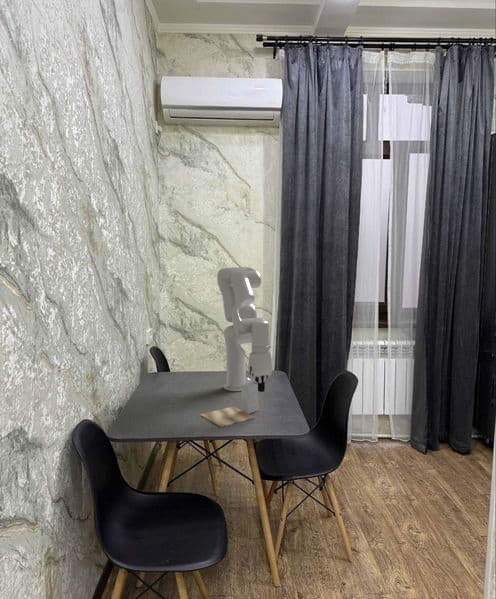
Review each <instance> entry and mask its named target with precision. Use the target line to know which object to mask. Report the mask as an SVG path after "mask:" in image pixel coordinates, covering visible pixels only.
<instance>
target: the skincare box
mask: <svg viewBox="0 0 496 599" xmlns="http://www.w3.org/2000/svg"><path fill="white" fill-rule="evenodd" d="M240 392H241V411H243V412H245V413H247V414H249V415H251V413H252V414H253V413H255V412H258V411H259V391H258V383H257V382H256V381H255V382H254V381H253V382H248V383H245V384H241V391H240Z"/></svg>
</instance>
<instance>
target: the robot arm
mask: <svg viewBox="0 0 496 599" xmlns="http://www.w3.org/2000/svg"><path fill="white" fill-rule="evenodd" d="M216 278H217V279H216V280H217V285H218V288H219V290H220V292H221V293H220V294H221V297H222V304H223V312H224V317H225V320H226V322H227V323H232V325H228V326H226V328H224V331H223V337H224V342H225V350H226V351H225V353H226V354H225V355H226V383H225V384H223V388H224V390H226V391H230V392H242V391H241V384H245V383H248V382H254V381H255V383H258V393H259V392H260V393H263V392H265V390H266V389H265V388H266V386H265V385H266V382H267V379H268V378H269V377H271V376H272V373H273V361H272V354H271V351H270V349H271V348H272V346H271V344H270V323H269V322H268V320H265V319H264V318H263V317H258V314H257V308H256V307H255V305H254V301H255V293H254V291H253V289H258V288H260V287H261V285H262V283H263V281H262V275H261V274H260V272H259V271H258V270H257V269H255V268H252V267H249V266H247V267H246V266H245V267H243V266H241V267H240V266H239V267H224V268H221V269H219V270H218V271H217V275H216ZM243 344H251V352H250V353H249V357H248V366H246V365H247V364H246V362H247V360H246V355H247V354H246V351H245V349H244V348H243V347H242V346H241V345H243ZM247 367H248V368H247ZM246 372H247V373H246ZM247 374H248V376H249V377H247V376H246V375H247Z"/></svg>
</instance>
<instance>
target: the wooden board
mask: <svg viewBox="0 0 496 599" xmlns="http://www.w3.org/2000/svg"><path fill="white" fill-rule="evenodd" d="M200 417H203V418H204V419H205V420H207V421H209V422H211V423H212V424H213V425H216V426H218V427H219V428H224V426H225V427H229V426H231V425H235V424H238V423H242V422H247V421H249V420H254V419H255V416H253V415H251V414H247V413H245V412H243V411H242V409H239V408H237V407H235V406H230V407H224V408H222V409H217V410H214V411H209V412H205V413H201V414H200ZM228 425H229V426H228Z"/></svg>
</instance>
